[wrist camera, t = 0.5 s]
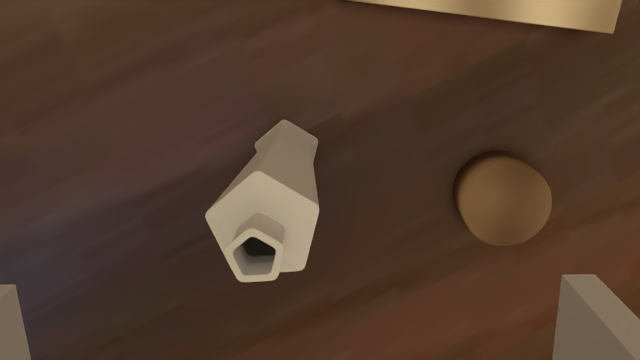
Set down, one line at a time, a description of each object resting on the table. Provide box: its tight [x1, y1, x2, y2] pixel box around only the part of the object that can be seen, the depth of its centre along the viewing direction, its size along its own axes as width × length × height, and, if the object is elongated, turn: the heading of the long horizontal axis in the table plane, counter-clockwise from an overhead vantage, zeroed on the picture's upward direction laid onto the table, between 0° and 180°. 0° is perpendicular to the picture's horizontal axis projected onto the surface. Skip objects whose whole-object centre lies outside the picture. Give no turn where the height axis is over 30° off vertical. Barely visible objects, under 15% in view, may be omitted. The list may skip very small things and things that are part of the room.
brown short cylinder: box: [453, 151, 552, 246], centre depth 33 cm, size 5×5×3 cm
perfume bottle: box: [205, 120, 319, 282], centre depth 27 cm, size 5×4×15 cm
